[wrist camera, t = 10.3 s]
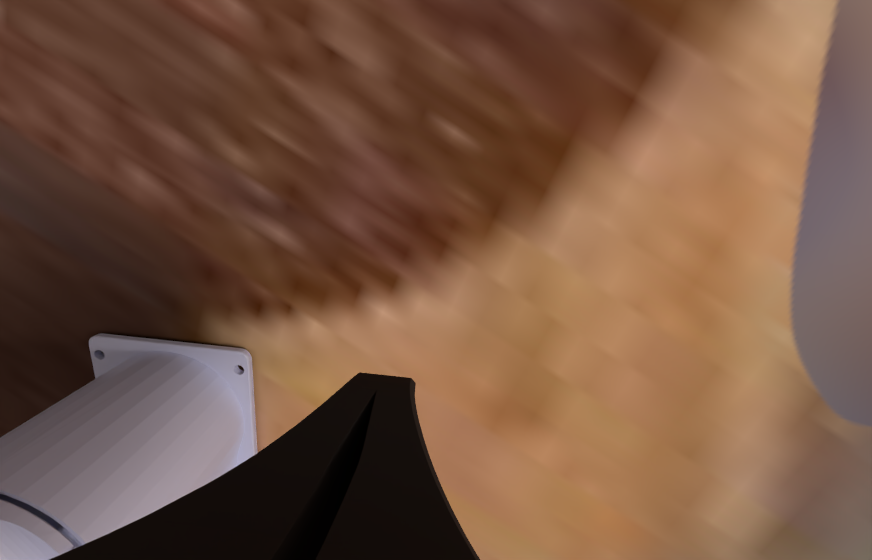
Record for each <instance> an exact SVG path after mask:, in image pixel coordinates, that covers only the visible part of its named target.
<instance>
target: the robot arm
mask: <svg viewBox="0 0 872 560" xmlns="http://www.w3.org/2000/svg"><path fill="white" fill-rule="evenodd" d="M89 348H90V353H91V358H92V364H93V369H94V374H95V380H93V381H91V382H90V383H88V384H86V385H85V386H83V387H82V388H80V389H78V390H77V391H75V392H73V393H72V394H70V395H69V396H67V397H65V398H64V399H62V400H60V401H59V402H57V403H56V404H54V405H52V406H51V407H49V408H47V409H46V410H44V411H43V412H41V413H39V414H38V415H36V416H34V417H33V418H31V419H29V420H28V421H26V422H25V423H23V424H21V425H20V426H18V427H16V428H15V429H13V430H12V431H10V432H8V433H7V434H5V435H3V436H2V437H0V560H480V559H479V557H478V556H477V554H476V552H475V551H474V549H473V547H472V546H471V544H470V542H469V541H468V539H467V537H466V535H465V534H464V532H463V530H462V528H461V526H460V524H459V522H458V520H457V518H456V516H455V514H454V512H453V510H452V508H451V506H450V504H449V502H448V500H447V498H446V496H445V493H444V491H443V489H442V487H441V484H440V482H439V480H438V477H437V475H436V472H435V470H434V467H433V464H432V462H431V459H430V456H429V454H428V451H427V448H426V444H425V441H424V438H423V434H422V431H421V427H420V423H419V419H418V415H417V410H416V404H415V382H414V381H413V380H412V378H405V377H396V376H387V375H377V374H368V373H358V374H357V375H356V376H354V377H353V378H352V379H351V380H350V381H349V382H347V383H346V384H345V385H344V386H343V387H342V388H341V389H339V390H338V391H337V392H336V393H335V394H334V395H333V396H331V397H330V398H329V399H328V400H327V401H326V402H324V403H323V404H322V405H321V406H319V407H318V408H317V409H316V410H315V411H313V412H312V413H311V414H310V415H308V416H307V417H306V418H305V419H304V420H302V421H301V422H300V423H298V424H297V425H296V426H295V427H293V428H292V429H290V430H289V431H288V432H286V433H285V434H284V435H282V436H281V437H280V438H278V439H277V440H275V441H274V442H273V443H271V444H270V445H269V446H267V447H266V448H264V449H263V450H261V451H260V452H258V453H257V437H256V420H255V403H254V386H253V369H252V357H251V354H250V353H249V352H248V351H247V350H245V349H242V348H234V347H225V346H216V345H206V344H197V343H187V342H178V341H169V340H159V339H150V338H140V337H131V336H122V335H112V334H103V333H101V334H97V335H95V336H93V337H91V338H90V340H89ZM102 352H103V353H104V354H103V353H102ZM238 365H240V366H242V367H243V368H244V371H243V370H240V369H239V367H238Z"/></svg>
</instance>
